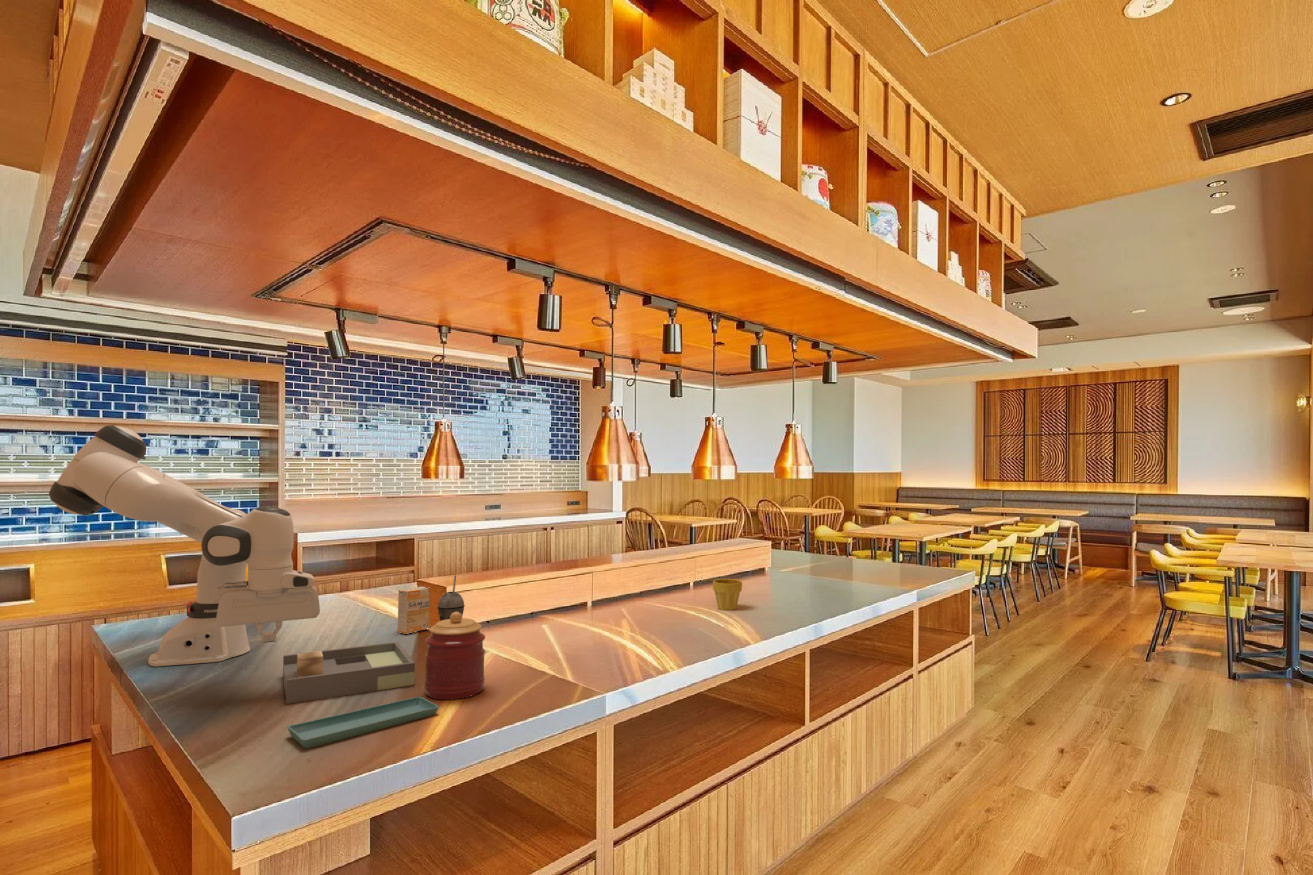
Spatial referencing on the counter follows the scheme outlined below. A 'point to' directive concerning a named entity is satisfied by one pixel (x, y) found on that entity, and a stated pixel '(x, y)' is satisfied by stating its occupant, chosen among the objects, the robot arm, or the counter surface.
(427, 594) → the supplement box
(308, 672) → the birch block
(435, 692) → the canister
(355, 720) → the rectangular tray
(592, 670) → the counter surface
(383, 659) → the trap board
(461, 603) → the beverage cup
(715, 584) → the plant pot
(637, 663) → the counter surface
